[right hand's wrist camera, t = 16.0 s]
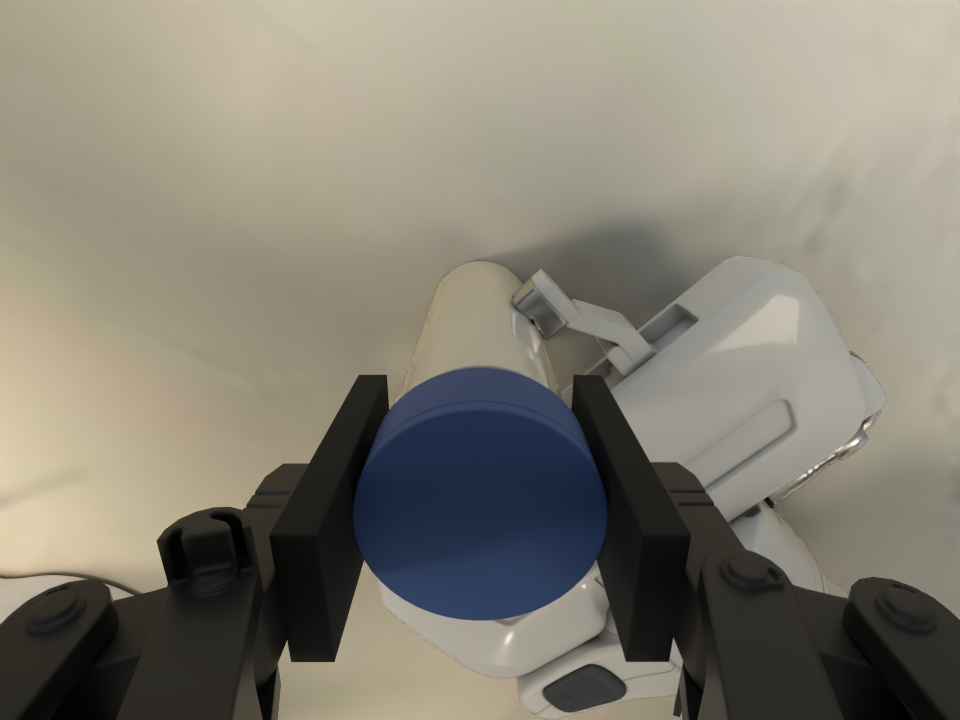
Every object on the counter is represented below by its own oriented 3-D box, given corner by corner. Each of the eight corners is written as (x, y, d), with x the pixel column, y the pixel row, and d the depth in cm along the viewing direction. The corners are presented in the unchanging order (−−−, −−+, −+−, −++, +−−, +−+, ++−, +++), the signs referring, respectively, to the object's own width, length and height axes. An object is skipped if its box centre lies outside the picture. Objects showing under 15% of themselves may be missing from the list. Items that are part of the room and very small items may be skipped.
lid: (509, 583, 14) (514, 654, 12) (334, 494, 13) (307, 555, 11) (632, 438, 12) (662, 492, 10) (444, 323, 11) (436, 358, 9)
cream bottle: (431, 261, 25) (362, 399, 10) (529, 260, 25) (598, 397, 10) (434, 353, 27) (380, 583, 12) (527, 353, 27) (583, 583, 12)
